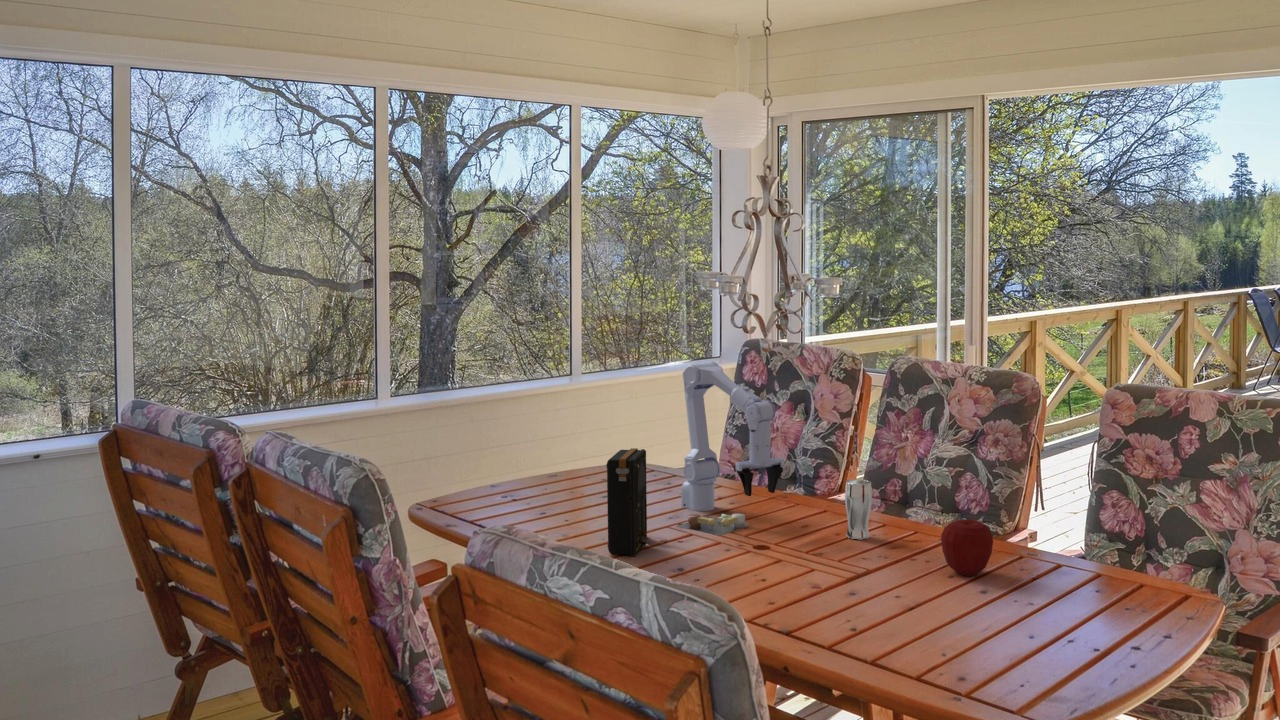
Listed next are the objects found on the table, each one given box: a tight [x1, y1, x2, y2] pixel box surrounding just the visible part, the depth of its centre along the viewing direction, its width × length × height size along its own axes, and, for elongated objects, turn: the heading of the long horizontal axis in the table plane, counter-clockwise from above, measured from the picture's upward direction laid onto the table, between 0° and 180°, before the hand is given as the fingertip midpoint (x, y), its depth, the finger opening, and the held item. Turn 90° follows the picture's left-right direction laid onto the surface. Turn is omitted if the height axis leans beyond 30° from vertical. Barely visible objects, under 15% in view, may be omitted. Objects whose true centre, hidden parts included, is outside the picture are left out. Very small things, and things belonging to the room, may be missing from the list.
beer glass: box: [844, 478, 873, 541], centre depth 272 cm, size 7×7×15 cm
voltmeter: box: [606, 447, 648, 557], centre depth 263 cm, size 16×9×25 cm, turn 168°
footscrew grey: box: [721, 513, 746, 529], centre depth 279 cm, size 9×4×3 cm, turn 139°
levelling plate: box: [675, 515, 750, 537], centre depth 281 cm, size 15×14×1 cm
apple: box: [940, 517, 994, 577], centre depth 240 cm, size 12×12×13 cm
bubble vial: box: [717, 513, 732, 522], centre depth 285 cm, size 4×2×2 cm, turn 49°
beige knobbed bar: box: [687, 513, 716, 528], centre depth 279 cm, size 9×4×3 cm, turn 49°
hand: (759, 493), depth 281 cm, fingers open, 7 cm apart
